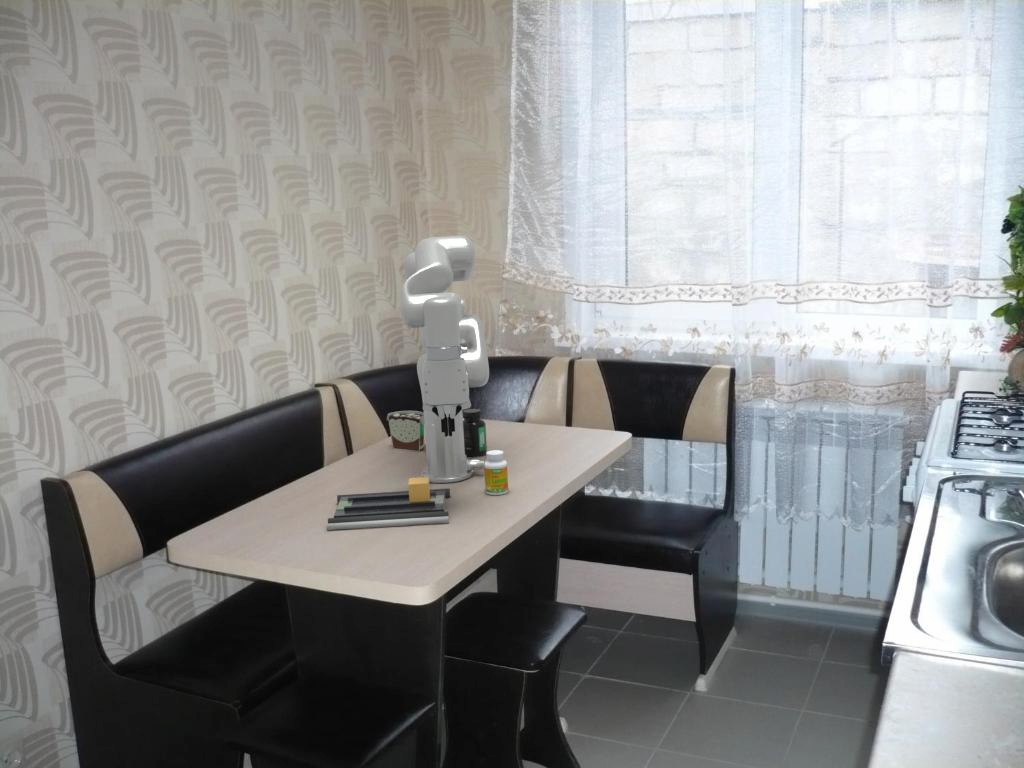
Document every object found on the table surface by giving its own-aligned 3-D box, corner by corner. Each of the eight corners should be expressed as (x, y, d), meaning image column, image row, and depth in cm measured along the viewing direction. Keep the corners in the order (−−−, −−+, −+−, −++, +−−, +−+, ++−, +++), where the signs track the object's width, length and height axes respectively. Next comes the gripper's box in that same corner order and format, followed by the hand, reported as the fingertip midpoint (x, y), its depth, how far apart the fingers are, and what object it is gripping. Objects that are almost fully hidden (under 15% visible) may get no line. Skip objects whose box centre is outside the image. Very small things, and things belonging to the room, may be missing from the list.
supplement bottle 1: (489, 456, 281) (487, 412, 279) (464, 458, 279) (461, 414, 277) (484, 450, 288) (481, 406, 285) (459, 452, 286) (456, 409, 284)
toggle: (430, 496, 240) (428, 476, 239) (429, 502, 235) (428, 483, 234) (410, 497, 240) (409, 478, 239) (409, 503, 235) (408, 484, 234)
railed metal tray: (445, 499, 245) (444, 487, 244) (444, 518, 231) (443, 505, 231) (341, 505, 244) (340, 493, 244) (334, 524, 230) (333, 512, 230)
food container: (437, 447, 293) (435, 412, 291) (424, 452, 288) (421, 416, 286) (402, 443, 300) (399, 408, 298) (388, 448, 294) (386, 413, 293)
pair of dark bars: (450, 495, 247) (449, 487, 247) (448, 523, 227) (448, 514, 227) (338, 502, 247) (338, 494, 246) (327, 531, 227) (326, 522, 226)
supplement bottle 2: (491, 497, 245) (489, 456, 243) (481, 491, 249) (479, 451, 248) (512, 493, 247) (510, 452, 245) (502, 487, 252) (499, 448, 250)
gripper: (477, 349, 235) (482, 429, 239) (410, 352, 235) (415, 433, 238) (477, 354, 228) (482, 437, 231) (408, 358, 227) (414, 441, 231)
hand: (448, 435), depth 235 cm, fingers closed
